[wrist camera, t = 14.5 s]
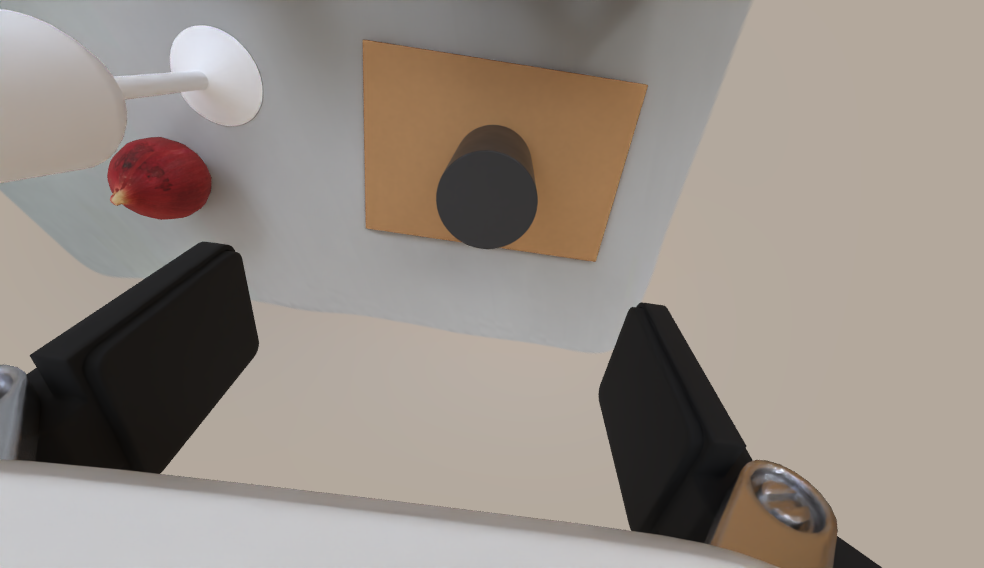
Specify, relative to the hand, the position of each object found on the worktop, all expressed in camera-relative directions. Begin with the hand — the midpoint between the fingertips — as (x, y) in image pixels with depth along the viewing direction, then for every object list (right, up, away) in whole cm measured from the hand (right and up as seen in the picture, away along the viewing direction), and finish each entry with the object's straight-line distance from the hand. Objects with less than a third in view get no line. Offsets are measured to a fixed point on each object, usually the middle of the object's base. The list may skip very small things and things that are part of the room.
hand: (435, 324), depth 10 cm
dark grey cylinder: (+1, +10, +22) cm, 24 cm away
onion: (-23, +11, +24) cm, 35 cm away
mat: (+1, +11, +22) cm, 25 cm away
